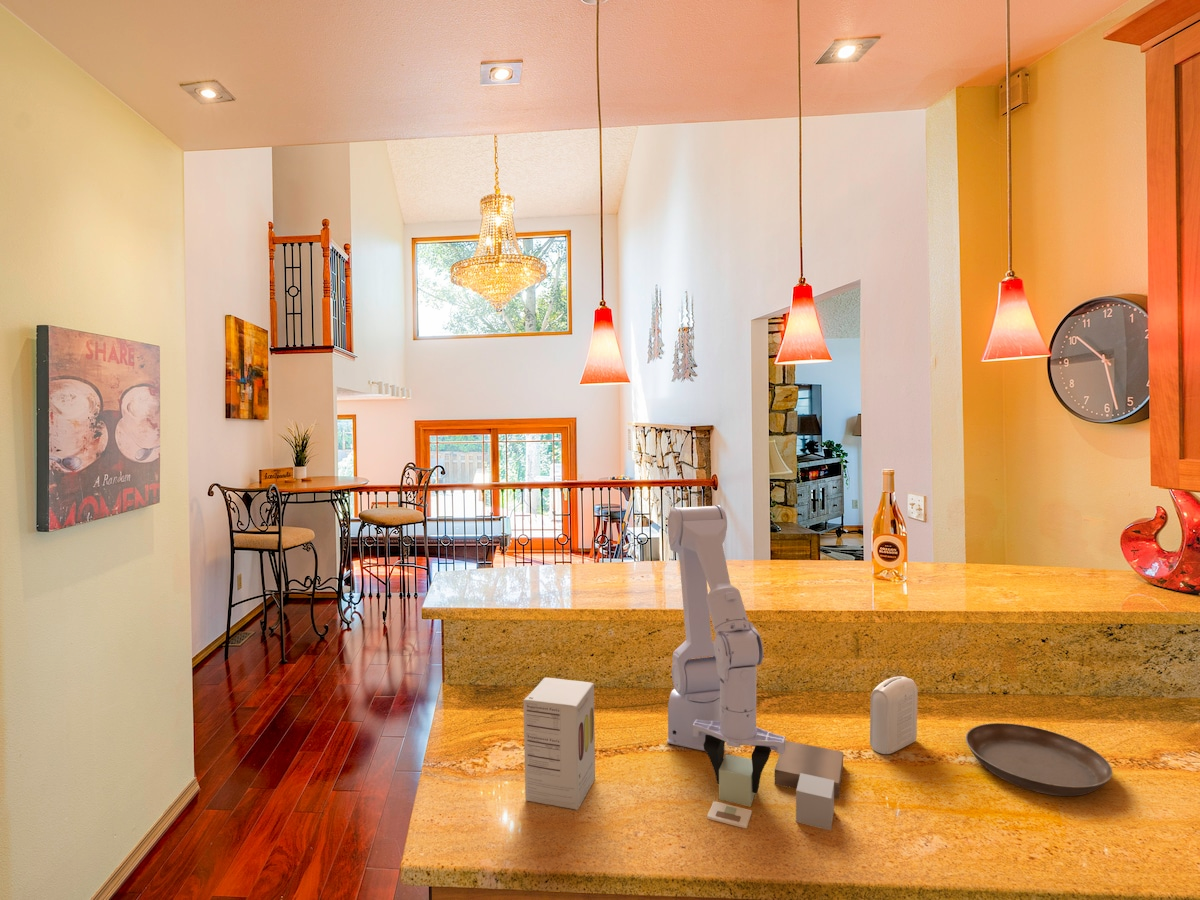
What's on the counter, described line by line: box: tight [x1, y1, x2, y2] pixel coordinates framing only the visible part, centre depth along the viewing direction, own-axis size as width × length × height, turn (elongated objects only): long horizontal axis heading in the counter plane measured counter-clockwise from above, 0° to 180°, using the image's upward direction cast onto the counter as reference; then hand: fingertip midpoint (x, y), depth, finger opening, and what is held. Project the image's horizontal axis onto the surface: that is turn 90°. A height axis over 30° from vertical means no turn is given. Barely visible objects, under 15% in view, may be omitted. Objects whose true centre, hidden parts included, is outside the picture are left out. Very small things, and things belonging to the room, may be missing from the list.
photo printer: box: [869, 675, 919, 755], centre depth 118 cm, size 10×4×12 cm, turn 123°
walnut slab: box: [774, 740, 844, 799], centre depth 109 cm, size 10×10×3 cm
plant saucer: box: [965, 722, 1113, 797], centre depth 110 cm, size 21×21×3 cm
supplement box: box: [522, 676, 596, 811], centre depth 105 cm, size 10×9×17 cm
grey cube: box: [795, 773, 835, 831], centre depth 98 cm, size 5×5×5 cm
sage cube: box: [718, 753, 756, 807], centre depth 104 cm, size 5×5×5 cm
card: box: [706, 800, 753, 829], centre depth 98 cm, size 6×4×1 cm, turn 66°
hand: (738, 785), depth 104 cm, fingers open, 5 cm apart
